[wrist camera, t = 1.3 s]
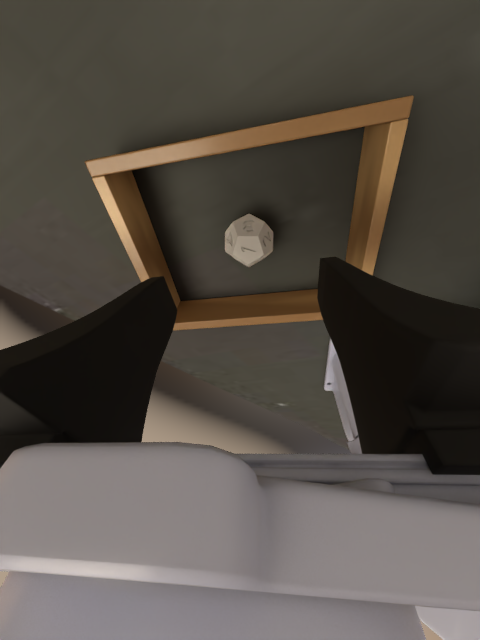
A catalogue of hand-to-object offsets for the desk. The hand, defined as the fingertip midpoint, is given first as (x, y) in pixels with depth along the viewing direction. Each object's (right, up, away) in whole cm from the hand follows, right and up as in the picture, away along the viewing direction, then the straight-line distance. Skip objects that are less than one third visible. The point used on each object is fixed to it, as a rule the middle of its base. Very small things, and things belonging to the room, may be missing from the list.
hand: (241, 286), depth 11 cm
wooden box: (+1, +5, +7) cm, 9 cm away
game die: (+1, +5, +7) cm, 9 cm away
